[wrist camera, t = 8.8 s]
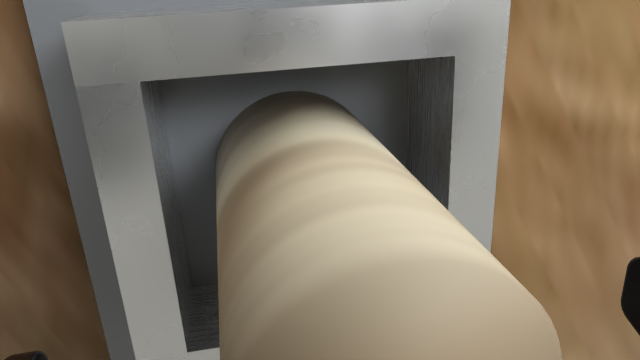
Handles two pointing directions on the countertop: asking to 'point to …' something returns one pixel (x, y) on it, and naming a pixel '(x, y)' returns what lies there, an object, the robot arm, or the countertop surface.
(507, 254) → the countertop surface
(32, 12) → the socket plate
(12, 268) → the countertop surface
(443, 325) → the beech peg
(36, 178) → the countertop surface
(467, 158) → the socket collar
